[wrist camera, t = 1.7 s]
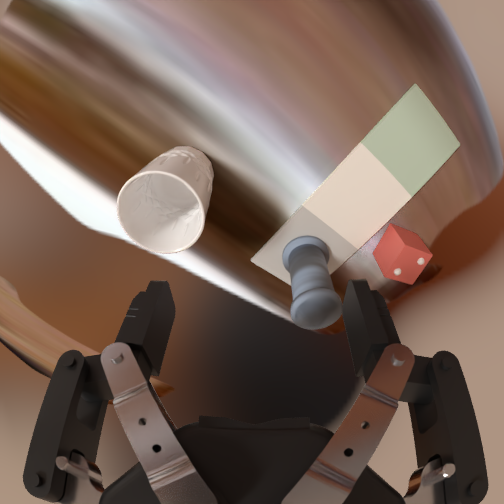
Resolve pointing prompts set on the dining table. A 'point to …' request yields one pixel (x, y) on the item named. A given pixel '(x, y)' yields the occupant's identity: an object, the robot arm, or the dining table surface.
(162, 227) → the white cup
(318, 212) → the game track
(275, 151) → the dining table surface
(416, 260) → the red die
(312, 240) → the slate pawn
